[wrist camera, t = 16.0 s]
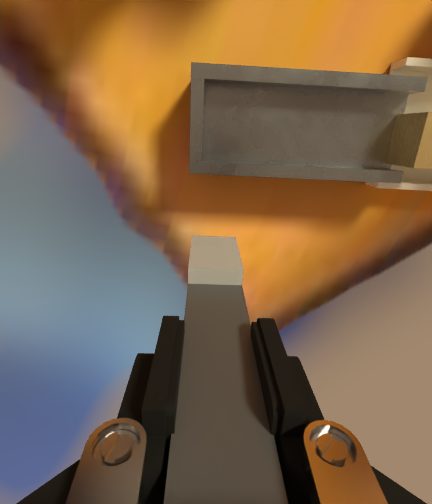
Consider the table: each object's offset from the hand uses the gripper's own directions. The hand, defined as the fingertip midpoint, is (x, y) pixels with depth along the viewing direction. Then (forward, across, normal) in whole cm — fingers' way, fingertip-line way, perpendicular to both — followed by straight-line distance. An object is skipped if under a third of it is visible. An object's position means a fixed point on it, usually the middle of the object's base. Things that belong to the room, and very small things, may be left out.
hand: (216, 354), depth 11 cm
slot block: (+23, -7, -8) cm, 26 cm away
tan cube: (+19, -18, -8) cm, 27 cm away
